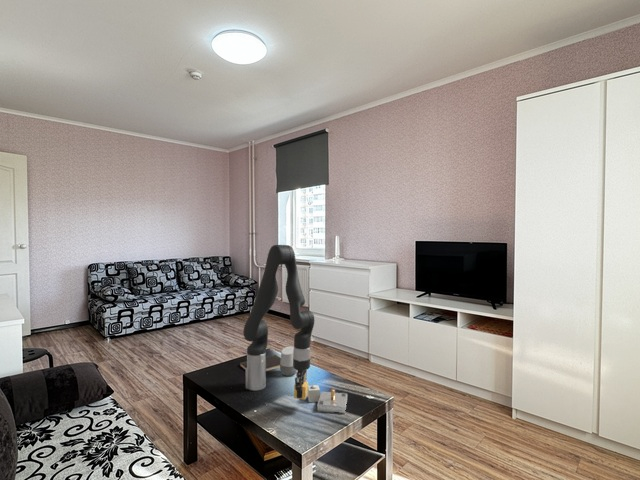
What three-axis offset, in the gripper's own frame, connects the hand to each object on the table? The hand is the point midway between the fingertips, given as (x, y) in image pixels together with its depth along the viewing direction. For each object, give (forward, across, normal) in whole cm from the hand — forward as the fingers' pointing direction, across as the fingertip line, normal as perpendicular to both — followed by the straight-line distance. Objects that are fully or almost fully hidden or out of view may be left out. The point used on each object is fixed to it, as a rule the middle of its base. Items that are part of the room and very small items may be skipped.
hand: (300, 394), depth 152 cm
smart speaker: (+7, -35, -14) cm, 38 cm away
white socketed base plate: (+6, -5, +14) cm, 16 cm away
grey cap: (+6, -9, +4) cm, 12 cm away
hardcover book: (+8, -44, -32) cm, 54 cm away
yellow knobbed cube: (+1, 0, 0) cm, 1 cm away
